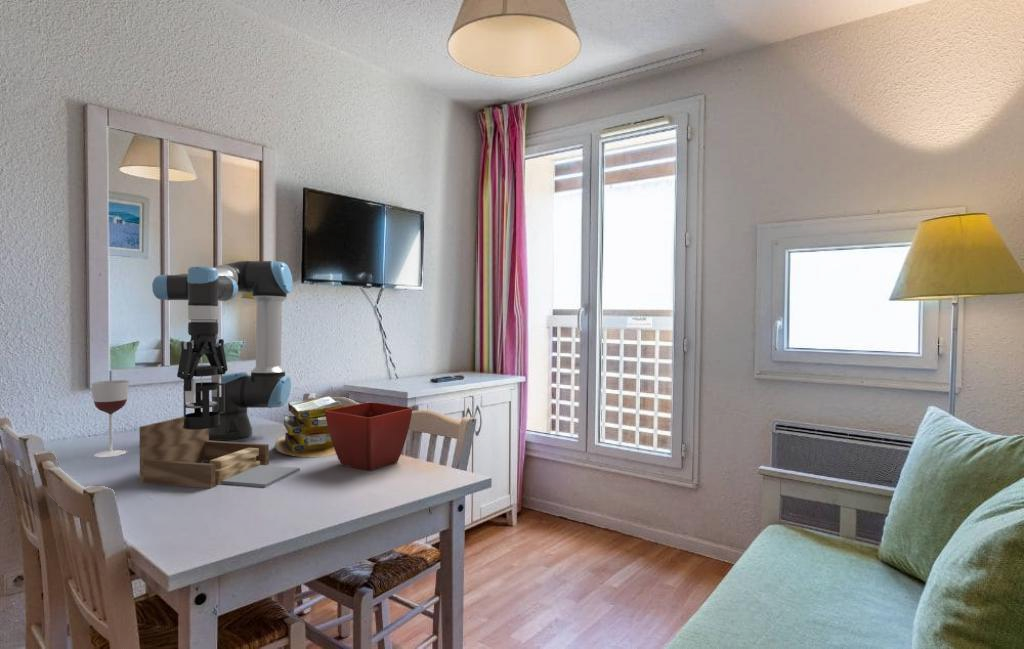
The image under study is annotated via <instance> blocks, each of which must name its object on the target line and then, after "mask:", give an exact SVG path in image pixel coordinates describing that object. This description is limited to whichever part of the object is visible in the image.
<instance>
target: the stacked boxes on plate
mask: <svg viewBox="0 0 1024 649" xmlns="http://www.w3.org/2000/svg"><path fill="white" fill-rule="evenodd" d="M340 407H345V406H344V404H342V403H341V401H340V400H336V399H334V398H332V397H331V396H324V397H321V398H316V399H310V398H309V399H306V400H299V401H290V402H288V412H290V413H291V414H292V415H287V414H283V426H284V427H285V429H286V431H287V432H285V434H284V435H282V436H281V437H279V438H278V439H277V440H276V441H275V442H274V448H275V450H277V451H278V452H280V453H282V454H285V455H287V456H293V457H300V458H301V457H302V458H315V457H316V456H317V457H323V456H324V457H325V456H331V455H337V454H336V452H335V449H334V446H333V443H332V440H331V437H330V433H329V430H328V425H327V421H326V415H325V410H330V409H335V408H340ZM317 457H316V458H317Z"/></svg>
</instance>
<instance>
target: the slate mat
mask: <svg viewBox="0 0 1024 649" xmlns="http://www.w3.org/2000/svg"><path fill="white" fill-rule="evenodd" d="M300 470H301V467H294V466H281V465H280V466H279V465H269V464H268V465H259V466H256V467H254V468H252V469H249V470H247V471H244V472H242V473H240V474H237V475H235V476H232V477H230V478H228V479H225V480H223V481H222V485H232V486H233V485H234V486H244V487H245V486H246V487H247V486H248V487H255V488H257V487H258V488H267V487H269V486H272V485H273V484H275V483H278V482H279V481H281V480H284V479H286V478H288V477H289V476H292V475H294V474H296V473H297V472H300Z"/></svg>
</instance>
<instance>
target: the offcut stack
mask: <svg viewBox="0 0 1024 649" xmlns="http://www.w3.org/2000/svg"><path fill="white" fill-rule="evenodd" d="M258 455H259V448H246V449H243V450H240V451H237V452H234V453H231V454H228V455H225V456H222V457H219V458H216V459H213V460H210V461H209V464H215V486H219V485H221V484H222V481H223V480H225V479H228V478H230V477H232V476H235V475H237V474H240V473H242V472H244V471H247V470H249V469H252V468H254V467H256V466H259V465H260V461H256V456H258ZM222 485H223V484H222Z"/></svg>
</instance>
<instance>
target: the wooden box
mask: <svg viewBox="0 0 1024 649" xmlns="http://www.w3.org/2000/svg"><path fill="white" fill-rule="evenodd" d="M183 425H184V416H180V417H176V418H172V419H167V420H163V421H159V422H154V423H150V424H146V425H142V426H139V483H142V484H143V483H145V484H155V485H166V486H178V487H179V486H180V487H191V488H202V489H203V488H204V489H213V488H215V487H216V485H215V464H210V463H206V462H210V460H213V459H216V458H219V457H222V456H225V455H228V454H231V453H234V452H237V451H240V450H243V449H246V448H259V455H258V456H256V461H260V465H268V466H269V463H270V462H269V459H270V458H269V457H270V456H269V454H270V453H269V452H270V450H269V448H270V447H269V446H270V445H269V443H268V444H266V443H255V442H239V441H238V442H237V441H225V440H210V439H209V428H208V429H198V430H190V429H184V428H183Z"/></svg>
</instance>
